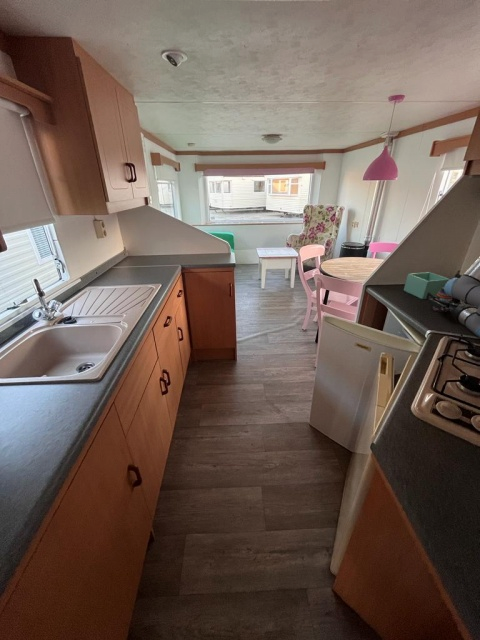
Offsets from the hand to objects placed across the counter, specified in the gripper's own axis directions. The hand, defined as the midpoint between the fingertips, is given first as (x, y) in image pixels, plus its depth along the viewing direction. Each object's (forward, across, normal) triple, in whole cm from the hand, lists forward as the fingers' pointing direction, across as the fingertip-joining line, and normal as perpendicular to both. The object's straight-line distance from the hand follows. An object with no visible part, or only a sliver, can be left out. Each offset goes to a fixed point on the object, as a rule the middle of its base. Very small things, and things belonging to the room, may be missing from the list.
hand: (438, 295), depth 128 cm
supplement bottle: (-5, 0, -6) cm, 8 cm away
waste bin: (+18, +3, -6) cm, 19 cm away
